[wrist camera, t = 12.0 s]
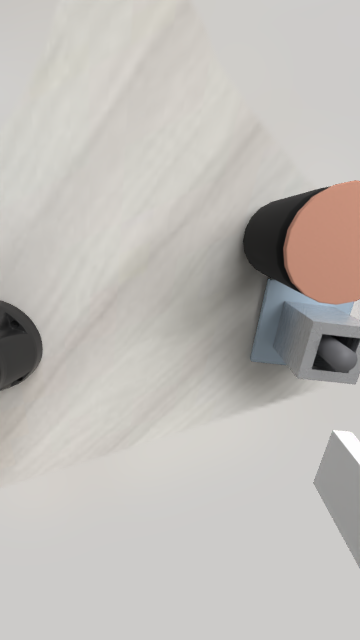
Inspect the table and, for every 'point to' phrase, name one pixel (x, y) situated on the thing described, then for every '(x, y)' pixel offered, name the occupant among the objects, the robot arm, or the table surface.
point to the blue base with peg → (269, 320)
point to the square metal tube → (315, 340)
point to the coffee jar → (310, 242)
